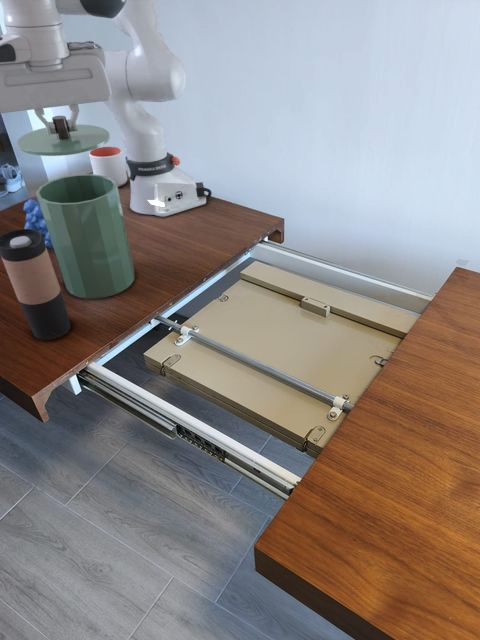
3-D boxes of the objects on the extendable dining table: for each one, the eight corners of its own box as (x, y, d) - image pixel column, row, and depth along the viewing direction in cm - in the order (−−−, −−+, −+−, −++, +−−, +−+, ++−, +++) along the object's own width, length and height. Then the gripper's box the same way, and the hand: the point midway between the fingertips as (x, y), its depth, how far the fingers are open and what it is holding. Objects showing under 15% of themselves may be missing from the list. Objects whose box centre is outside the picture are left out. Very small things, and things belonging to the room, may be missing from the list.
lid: (99, 126, 98) (94, 101, 95) (120, 150, 87) (115, 123, 84) (14, 138, 92) (5, 111, 89) (25, 165, 81) (16, 136, 78)
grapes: (21, 244, 121) (4, 199, 113) (45, 235, 125) (31, 191, 117) (43, 260, 115) (27, 213, 108) (68, 250, 119) (55, 204, 111)
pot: (124, 256, 117) (105, 169, 103) (143, 287, 106) (125, 194, 92) (60, 272, 111) (31, 182, 97) (73, 305, 101) (42, 210, 87)
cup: (120, 190, 148) (113, 158, 141) (90, 188, 149) (82, 155, 143) (132, 179, 155) (127, 147, 149) (104, 176, 157) (98, 145, 150)
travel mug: (31, 322, 96) (-5, 232, 83) (70, 314, 99) (41, 225, 86) (32, 344, 91) (-6, 252, 78) (73, 335, 93) (43, 244, 80)
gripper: (97, 37, 84) (113, 120, 94) (-28, 46, 77) (2, 135, 86) (106, 42, 80) (122, 128, 89) (-26, 52, 73) (6, 145, 82)
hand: (62, 132), depth 88 cm, fingers closed on lid, 2 cm apart
